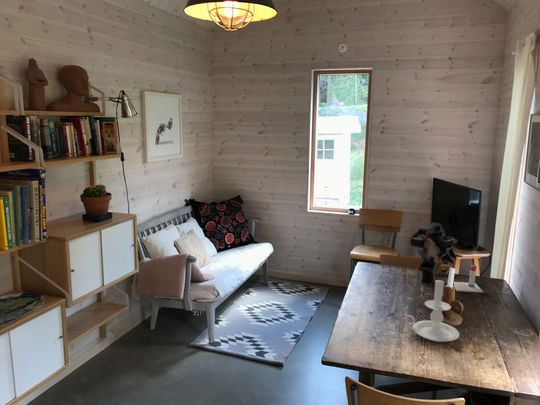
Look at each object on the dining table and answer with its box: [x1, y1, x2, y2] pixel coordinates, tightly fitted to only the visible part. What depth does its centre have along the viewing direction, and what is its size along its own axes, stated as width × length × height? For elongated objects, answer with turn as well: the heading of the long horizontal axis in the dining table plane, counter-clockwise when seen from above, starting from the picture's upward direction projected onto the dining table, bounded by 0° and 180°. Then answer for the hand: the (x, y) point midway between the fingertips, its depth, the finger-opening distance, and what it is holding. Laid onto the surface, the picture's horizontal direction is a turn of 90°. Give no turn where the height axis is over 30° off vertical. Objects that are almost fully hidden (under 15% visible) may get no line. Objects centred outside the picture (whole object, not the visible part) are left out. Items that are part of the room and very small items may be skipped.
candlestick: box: [403, 279, 460, 343], centre depth 202 cm, size 21×25×28 cm
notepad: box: [453, 281, 485, 294], centre depth 266 cm, size 17×15×1 cm
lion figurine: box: [435, 259, 452, 275], centre depth 289 cm, size 15×5×9 cm, turn 73°
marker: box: [468, 264, 477, 287], centre depth 265 cm, size 4×4×13 cm
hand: (454, 260), depth 273 cm, fingers open, 9 cm apart
